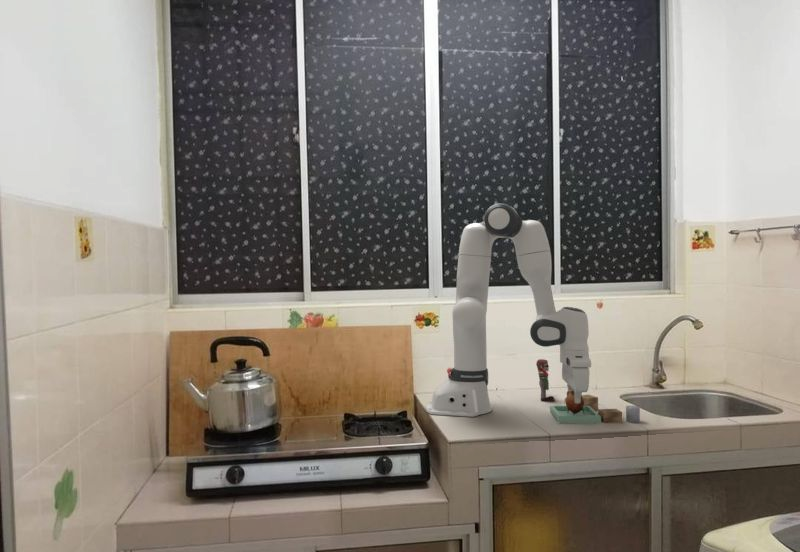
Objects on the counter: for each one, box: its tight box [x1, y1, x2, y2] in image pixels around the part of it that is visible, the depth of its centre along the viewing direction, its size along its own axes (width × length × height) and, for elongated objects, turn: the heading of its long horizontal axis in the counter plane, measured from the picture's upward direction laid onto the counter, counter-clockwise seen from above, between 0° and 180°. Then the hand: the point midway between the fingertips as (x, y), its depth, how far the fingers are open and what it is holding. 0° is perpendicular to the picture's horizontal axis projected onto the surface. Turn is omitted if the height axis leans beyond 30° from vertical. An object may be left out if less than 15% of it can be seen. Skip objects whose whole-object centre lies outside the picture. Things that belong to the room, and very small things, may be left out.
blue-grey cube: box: [625, 405, 641, 424], centre depth 170 cm, size 4×4×4 cm
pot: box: [564, 390, 585, 415], centre depth 175 cm, size 6×8×6 cm
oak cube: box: [582, 394, 599, 412], centre depth 185 cm, size 4×4×4 cm
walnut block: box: [597, 408, 623, 424], centre depth 171 cm, size 6×4×4 cm, turn 96°
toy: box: [536, 358, 556, 403], centre depth 198 cm, size 18×6×15 cm, turn 168°
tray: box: [549, 404, 602, 424], centre depth 176 cm, size 13×13×2 cm
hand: (574, 399), depth 176 cm, fingers closed on pot, 6 cm apart
